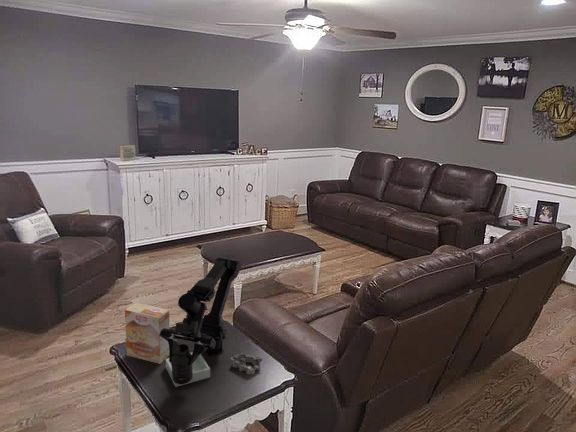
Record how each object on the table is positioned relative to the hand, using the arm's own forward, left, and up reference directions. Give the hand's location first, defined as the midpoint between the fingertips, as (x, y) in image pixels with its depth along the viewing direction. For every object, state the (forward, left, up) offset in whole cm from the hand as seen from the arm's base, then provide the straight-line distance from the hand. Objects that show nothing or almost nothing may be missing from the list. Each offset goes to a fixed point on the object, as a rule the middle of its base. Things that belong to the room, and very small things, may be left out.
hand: (179, 364), depth 145 cm
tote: (-6, -10, -11) cm, 16 cm away
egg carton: (-26, -4, -11) cm, 29 cm away
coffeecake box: (+4, -26, -11) cm, 29 cm away
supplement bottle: (-1, -1, -7) cm, 7 cm away
